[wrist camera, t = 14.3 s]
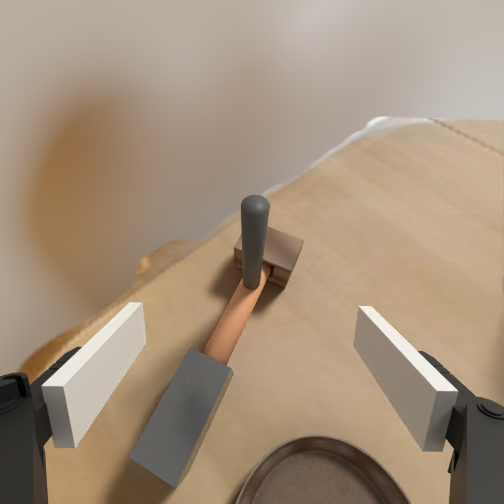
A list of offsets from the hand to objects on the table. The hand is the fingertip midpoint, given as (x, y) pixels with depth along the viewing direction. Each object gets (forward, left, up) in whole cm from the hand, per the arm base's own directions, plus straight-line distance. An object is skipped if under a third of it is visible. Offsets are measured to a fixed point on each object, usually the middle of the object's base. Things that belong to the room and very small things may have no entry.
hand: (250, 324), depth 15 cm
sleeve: (0, +8, -18) cm, 20 cm away
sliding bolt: (+5, -2, -16) cm, 17 cm away
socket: (+10, -10, -18) cm, 23 cm away
